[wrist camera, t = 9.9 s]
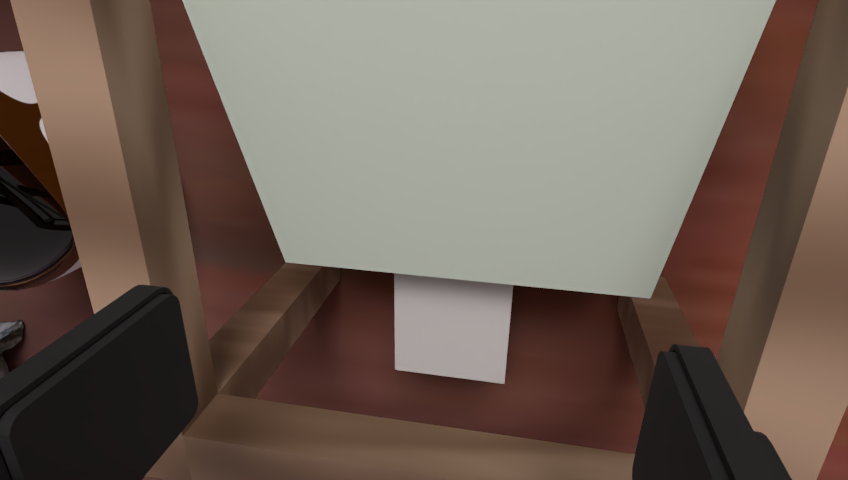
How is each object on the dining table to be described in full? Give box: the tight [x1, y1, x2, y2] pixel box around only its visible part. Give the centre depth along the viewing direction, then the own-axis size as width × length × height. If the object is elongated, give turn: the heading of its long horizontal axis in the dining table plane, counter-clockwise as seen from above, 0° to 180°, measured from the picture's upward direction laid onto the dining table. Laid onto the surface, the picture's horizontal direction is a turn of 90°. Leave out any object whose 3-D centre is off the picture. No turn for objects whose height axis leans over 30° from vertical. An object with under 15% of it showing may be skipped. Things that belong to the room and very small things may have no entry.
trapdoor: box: [182, 0, 776, 299], centre depth 16 cm, size 12×14×1 cm
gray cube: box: [394, 273, 513, 384], centre depth 26 cm, size 5×5×6 cm
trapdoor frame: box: [10, 0, 848, 480], centre depth 19 cm, size 19×19×14 cm
